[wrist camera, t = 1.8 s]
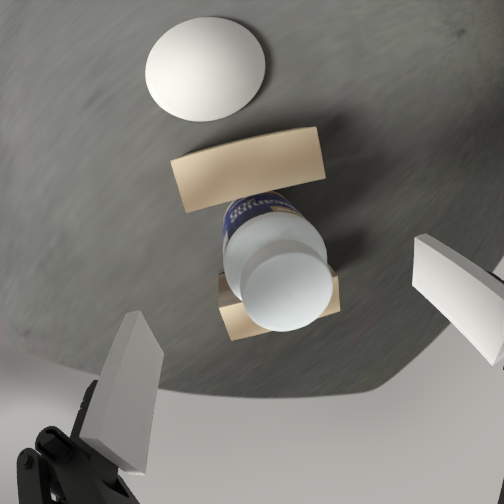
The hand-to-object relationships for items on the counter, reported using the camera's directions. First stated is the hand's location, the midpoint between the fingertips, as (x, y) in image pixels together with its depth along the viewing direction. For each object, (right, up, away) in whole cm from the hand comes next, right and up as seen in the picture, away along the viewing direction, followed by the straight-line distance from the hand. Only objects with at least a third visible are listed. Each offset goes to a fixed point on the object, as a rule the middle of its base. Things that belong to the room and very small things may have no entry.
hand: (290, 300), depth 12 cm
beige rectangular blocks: (-1, +4, +8) cm, 10 cm away
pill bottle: (-1, +4, +9) cm, 10 cm away
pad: (-5, +15, +3) cm, 16 cm away
